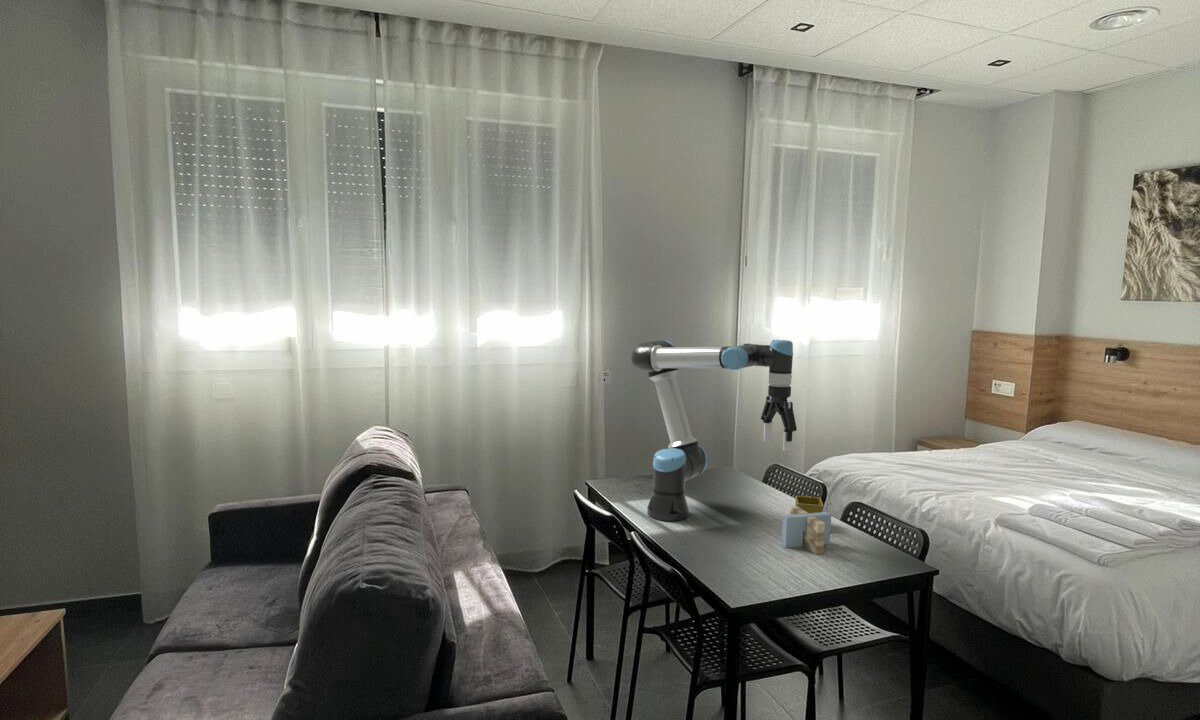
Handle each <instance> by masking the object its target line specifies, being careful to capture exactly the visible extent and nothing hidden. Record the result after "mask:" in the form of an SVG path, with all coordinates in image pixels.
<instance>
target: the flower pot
mask: <svg viewBox="0 0 1200 720" xmlns="http://www.w3.org/2000/svg"><path fill="white" fill-rule="evenodd" d="M794 499H795V507H799V508H801V509H803V510H804V511H806V512H807V513H820V512H824V511H823V510H824V503H823V501H822V498H821V497H818V496H806V495H805V496H803V495H795V498H794Z"/></svg>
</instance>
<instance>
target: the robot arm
mask: <svg viewBox="0 0 1200 720" xmlns="http://www.w3.org/2000/svg"><path fill="white" fill-rule="evenodd" d="M793 345H794V344H793V341H792V340H786V339H772V340H771V341H770V344H756V343H748V342H747V343H739V344H738V345H735V346H688V347H686V346H684V347H683V346H678V347H677V345H675V344H674V343H673V342H671V341H669V340H663V339H658V340H651V341H642V342H640V343H638V344H637V345H635V346H634V348H633V350H632V351H631V354H630V359H631V364H632V366H633V367H634V368H635V369H636V370H637V371H639V372H641V373H647V375H648V378H649V380H651V381H652V382H654V387H655V390H656V393H657V397H658V401H659V405H660V407H661V408H660V409H661V411H662V416H663V419H664V422H665V423H664V424H665V428H666V431H667V435H668V437H669V442H670V443H668V446H667V448H663V449H660V450H658V451H656V452H655V453H654V455H653V461H652V493H651V496H650V498H649V501H648V505H647V511H646V513H647V515H648V517H650V518H651V519H654V520H659V521H662V522H663V521H664V522H677V521H679V522H680V521H683V520H686V519H687V518H689V516H690V515H689V513H690V510H689V509H690V508H689V506H688V505H689V504H688V503H687V498H686V495H685V490H686V488H685V487H686V486H685V485H686V482H687V481H690V480H692V479H694V478H697V477H698V476H701V474H703V473H704V472H705V470H706V469H707V467H708V463H709V462H708V454H707V452H706V451H705V449H704V448H703V447H701V446H700V444H699V440H698V439H697V438H695V437H694V436H693V434H692V431H691V430H692V429H691V427H690V424H689V420H688V416H687V414H686V413H687V412H686V410H685V406H684V401H683V397H682V394H681V390H680V388H679V387H680V386H679V384H678V380H677V375H678V373H679V369H728V370H734V371H735V370H736V371H737V370H740V369H745V368H749V367H766V368H768V370H769V371H768V390H767V394H768V395H766V398H765V404H764V407H763V409H762V411H761V412H762V413H761V415H760V420H761V421H762V422H763V442H772V438H773V437H772V435H773V419H774V417H775V415H776V413H778V415H780V418H781V422H782V425H783V427H784V430H783V437H782V438H783V439H782V440H783V441H782V444H783V445H782V451H784V452H787V451H788V452H790V451H792V447H793V446H792V444H793V443H792V442H793V433H794V432H797V430H798V428H797V424H796V417H795V414H794V413H795V412H794V407H793V405H794V404H793V403H794V402H792V401H788V398H790V397H791V396H792V395H791V394H792V392H791V391H792V387H791V386H790V385H792V377H793V376H792V375H793V358H794V357H793V356H794V347H793Z"/></svg>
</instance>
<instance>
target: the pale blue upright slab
mask: <svg viewBox="0 0 1200 720" xmlns="http://www.w3.org/2000/svg"><path fill="white" fill-rule="evenodd" d="M807 517H816V518H817V519H819V520H821V521H822V522H824V523H825V534H824V546H825V545H830V544H831V543H830V542H831V530H832V529H831V528H832V514H831V513H830V512H828V511H822V512H820V513H806V514H792V515H791V514H783V515H782V528H781V529H782V531H781V546H782V547H783V548H785V549H790V548H800V547H801V548H803V547H804V546H803V532H804V531H807Z"/></svg>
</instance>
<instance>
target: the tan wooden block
mask: <svg viewBox="0 0 1200 720" xmlns="http://www.w3.org/2000/svg"><path fill="white" fill-rule="evenodd" d="M806 513H807V512H806V511H804V510H803V509H801V508H799V507H796V506H791V507H790V515H792V514H806ZM824 534H825V523H824V522H822V521H821V520H819V519H817V518H816V517H807V531H804V532H803V546H802V547H804V548H807V550H809V551H810V552H812V553H814V554H815V555H824V548H825V545H824Z"/></svg>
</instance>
